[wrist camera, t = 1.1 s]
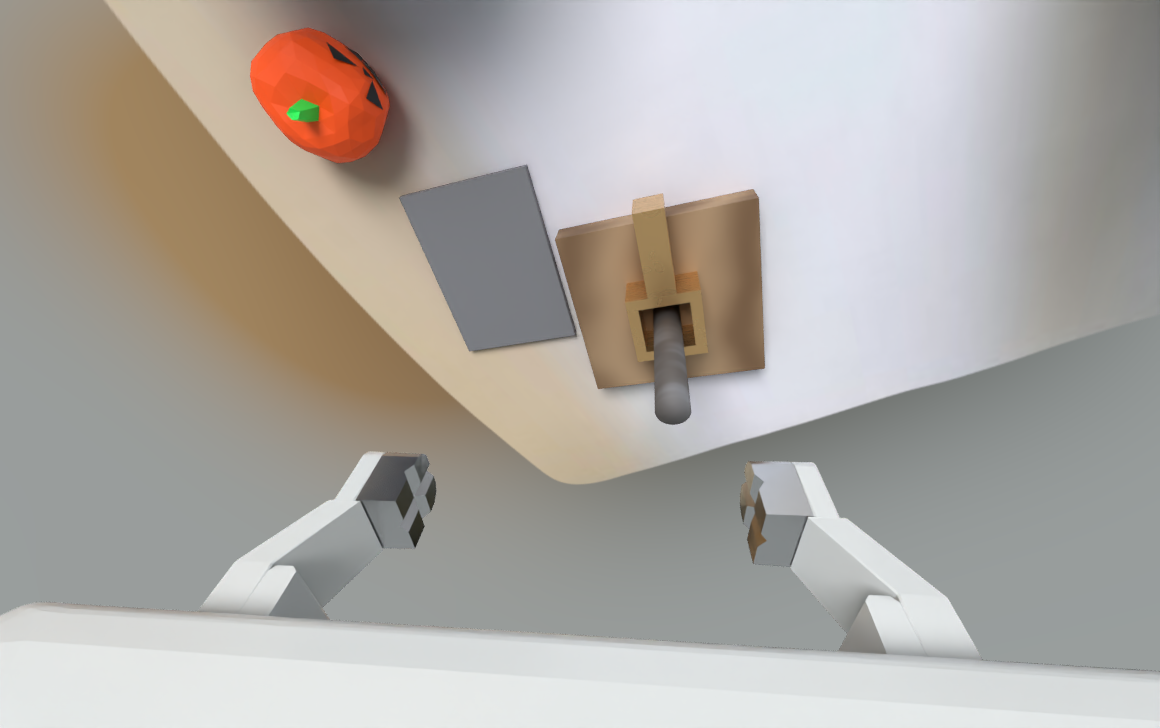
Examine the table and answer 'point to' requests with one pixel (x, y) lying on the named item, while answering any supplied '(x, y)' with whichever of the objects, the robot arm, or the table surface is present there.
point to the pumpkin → (320, 94)
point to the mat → (492, 258)
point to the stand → (729, 296)
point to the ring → (660, 282)
